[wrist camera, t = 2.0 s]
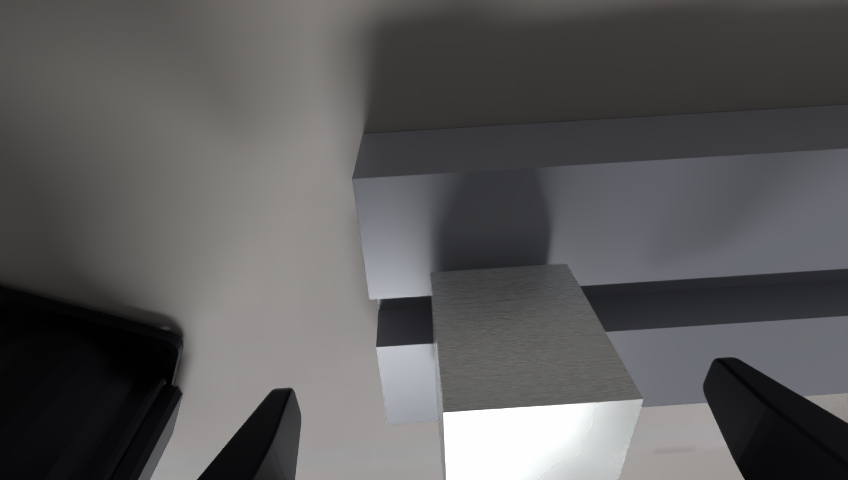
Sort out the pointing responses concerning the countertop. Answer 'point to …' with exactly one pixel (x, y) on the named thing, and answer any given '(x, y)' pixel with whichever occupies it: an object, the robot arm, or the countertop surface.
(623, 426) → the fader tab
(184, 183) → the countertop surface
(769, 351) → the fader console
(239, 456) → the robot arm
